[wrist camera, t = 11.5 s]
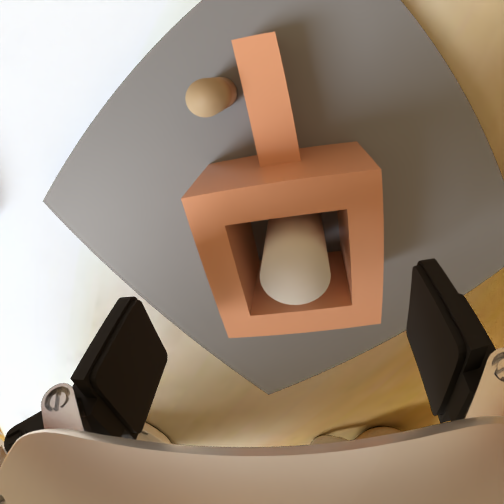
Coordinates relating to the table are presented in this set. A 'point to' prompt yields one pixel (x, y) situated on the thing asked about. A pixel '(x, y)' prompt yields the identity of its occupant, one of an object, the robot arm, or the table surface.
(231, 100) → the dowel pin
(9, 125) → the table surface
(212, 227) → the square frame with post
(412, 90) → the base plate
